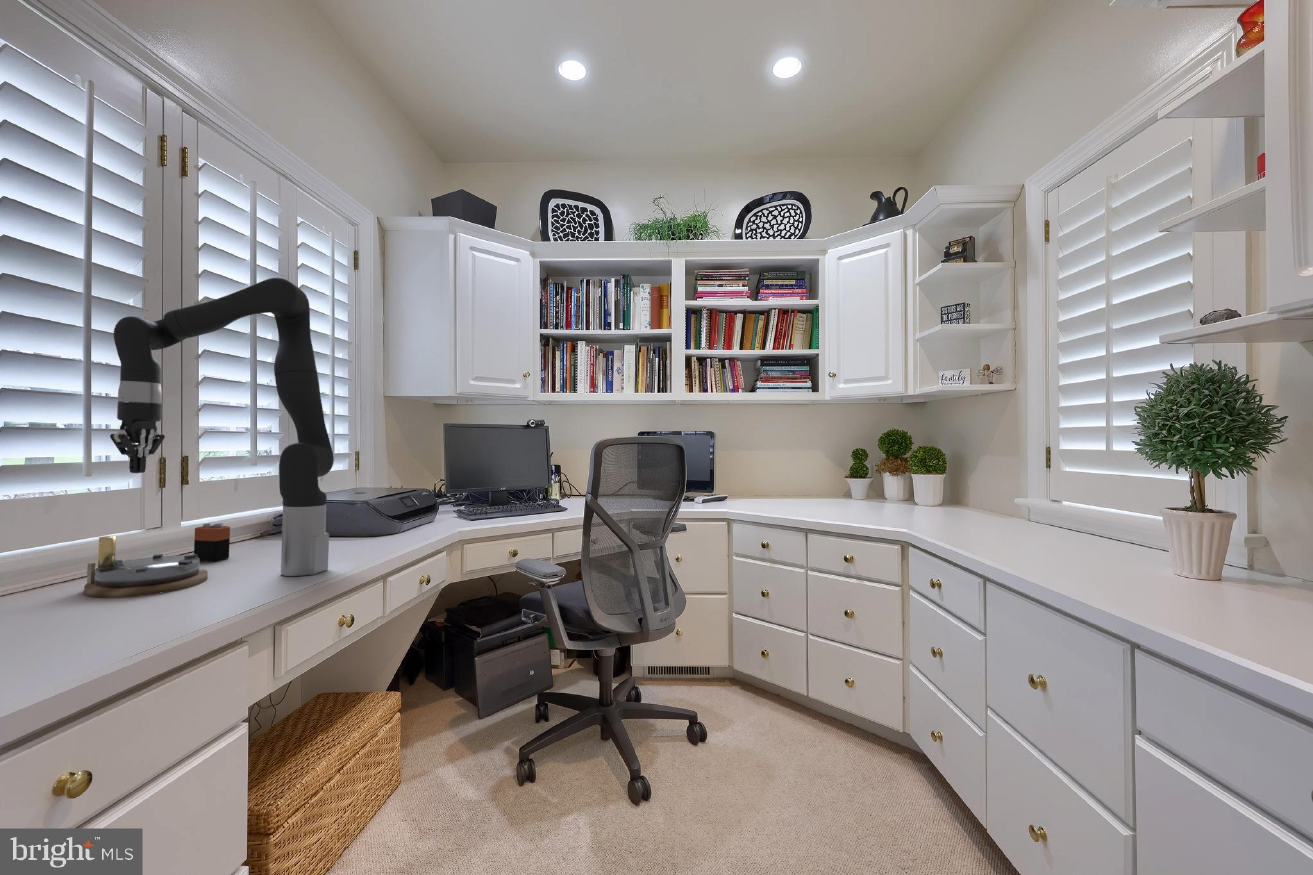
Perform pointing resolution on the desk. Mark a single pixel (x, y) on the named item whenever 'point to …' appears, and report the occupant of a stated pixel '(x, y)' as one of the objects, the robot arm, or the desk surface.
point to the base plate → (115, 592)
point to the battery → (212, 542)
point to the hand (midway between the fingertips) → (137, 472)
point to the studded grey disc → (140, 567)
